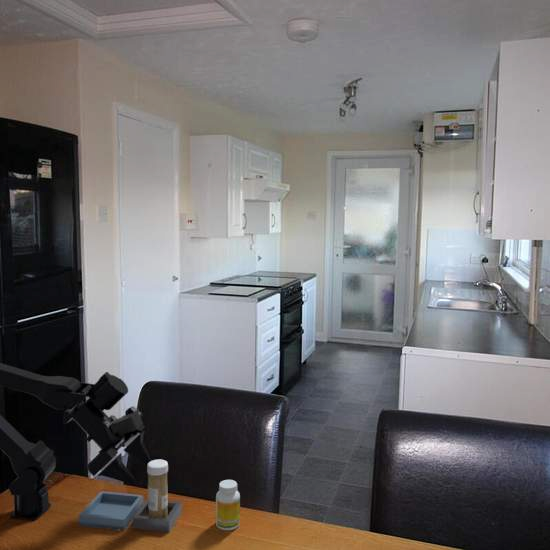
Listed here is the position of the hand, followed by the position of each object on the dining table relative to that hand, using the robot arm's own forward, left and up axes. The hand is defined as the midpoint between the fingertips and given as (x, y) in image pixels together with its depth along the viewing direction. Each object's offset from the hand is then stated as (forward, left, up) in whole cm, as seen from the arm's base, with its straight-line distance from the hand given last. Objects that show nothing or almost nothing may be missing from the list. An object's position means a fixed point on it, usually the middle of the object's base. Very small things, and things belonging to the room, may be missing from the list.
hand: (143, 473), depth 121 cm
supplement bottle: (+19, +1, -11) cm, 22 cm away
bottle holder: (+3, 0, -11) cm, 11 cm away
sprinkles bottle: (+3, 0, -11) cm, 11 cm away
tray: (-8, 0, -11) cm, 13 cm away
